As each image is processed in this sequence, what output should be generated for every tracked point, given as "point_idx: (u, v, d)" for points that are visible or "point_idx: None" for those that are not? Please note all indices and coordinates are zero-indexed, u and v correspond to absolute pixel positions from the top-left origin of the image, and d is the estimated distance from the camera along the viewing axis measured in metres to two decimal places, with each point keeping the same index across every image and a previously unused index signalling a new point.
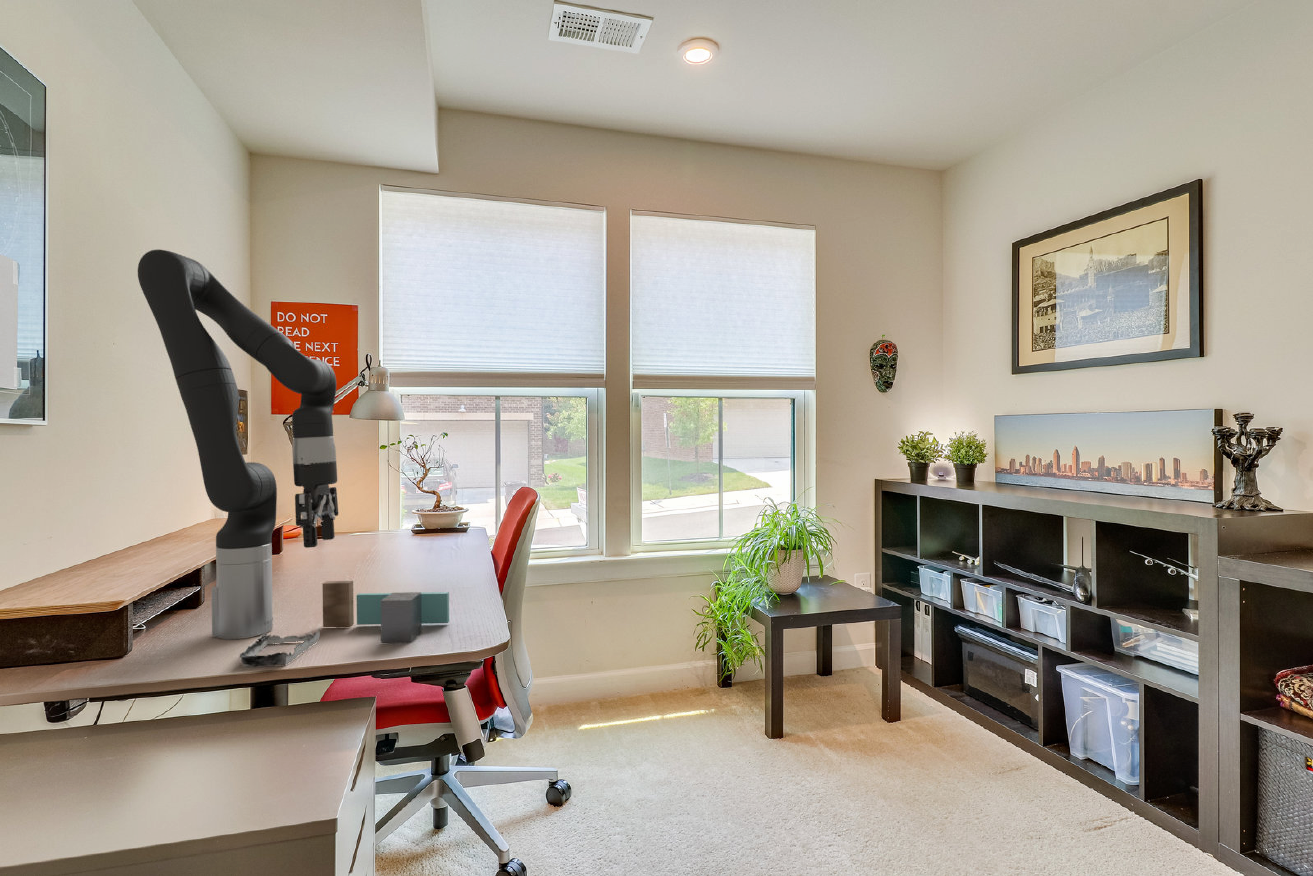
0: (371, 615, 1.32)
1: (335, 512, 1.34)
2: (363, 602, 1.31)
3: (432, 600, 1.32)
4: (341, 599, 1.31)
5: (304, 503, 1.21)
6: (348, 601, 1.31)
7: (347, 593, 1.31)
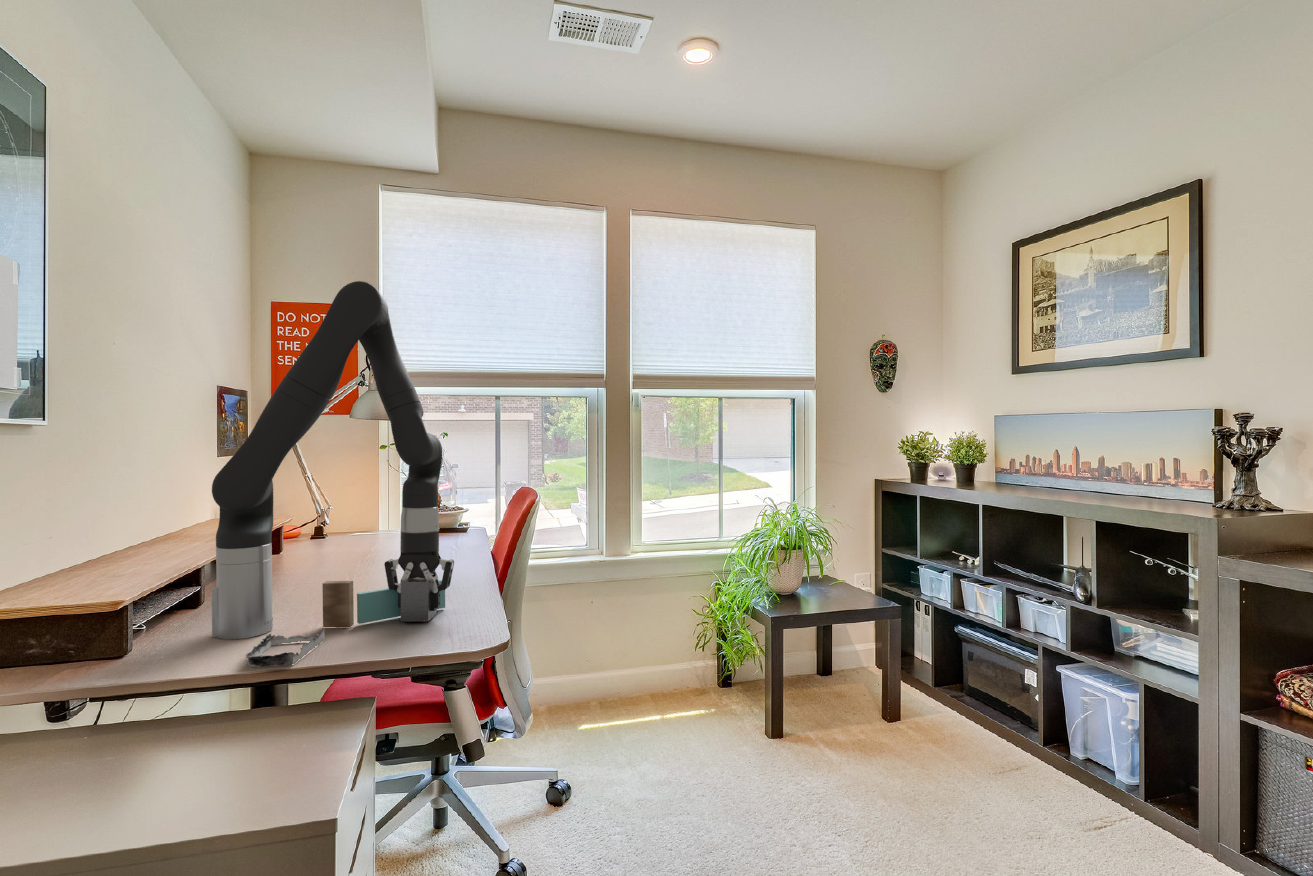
0: (374, 612, 1.34)
1: None
2: (366, 600, 1.33)
3: None
4: (341, 599, 1.31)
5: (451, 569, 1.37)
6: (348, 601, 1.31)
7: (347, 593, 1.31)
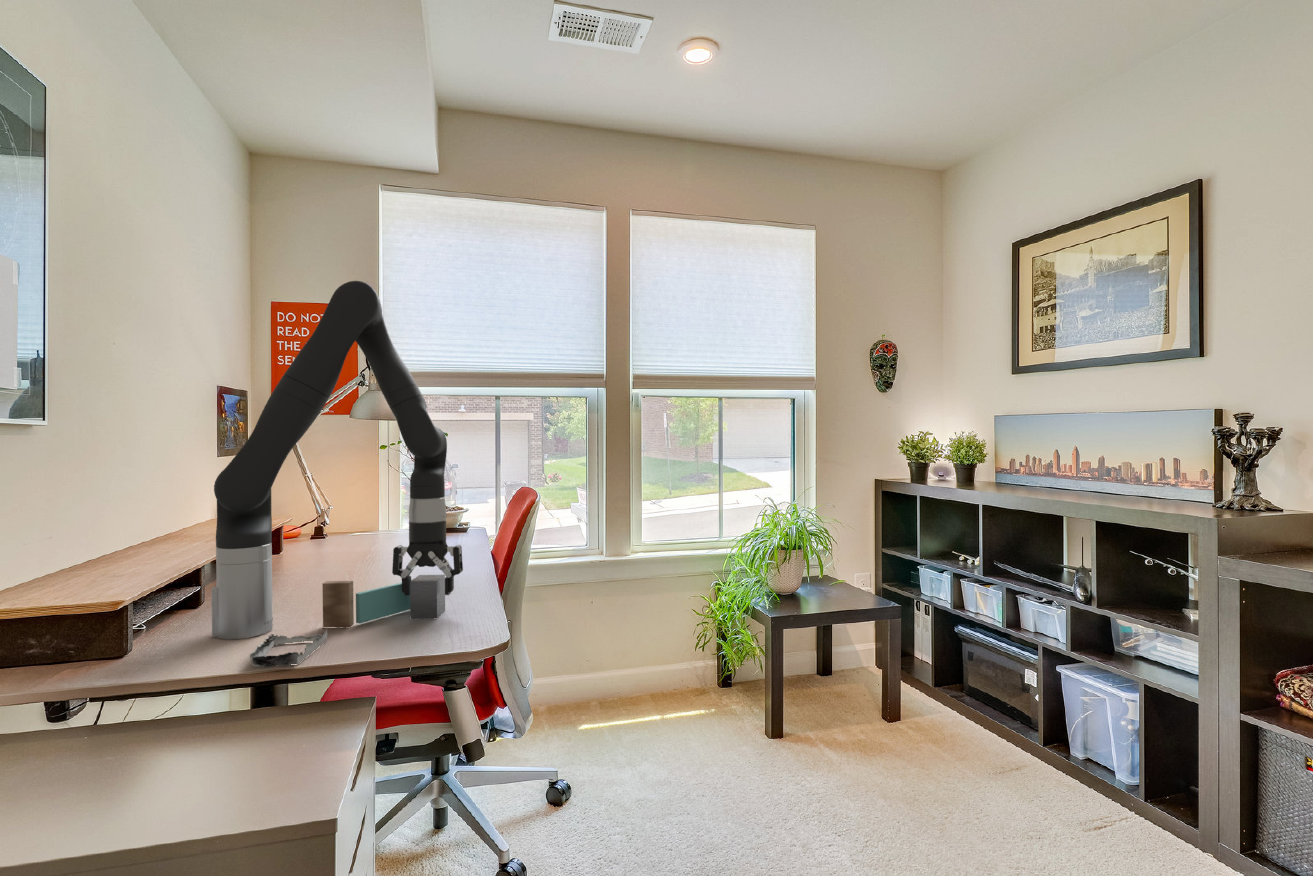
0: (372, 611, 1.35)
1: None
2: (365, 600, 1.33)
3: None
4: (341, 599, 1.31)
5: (460, 553, 1.41)
6: (348, 601, 1.31)
7: (347, 593, 1.31)
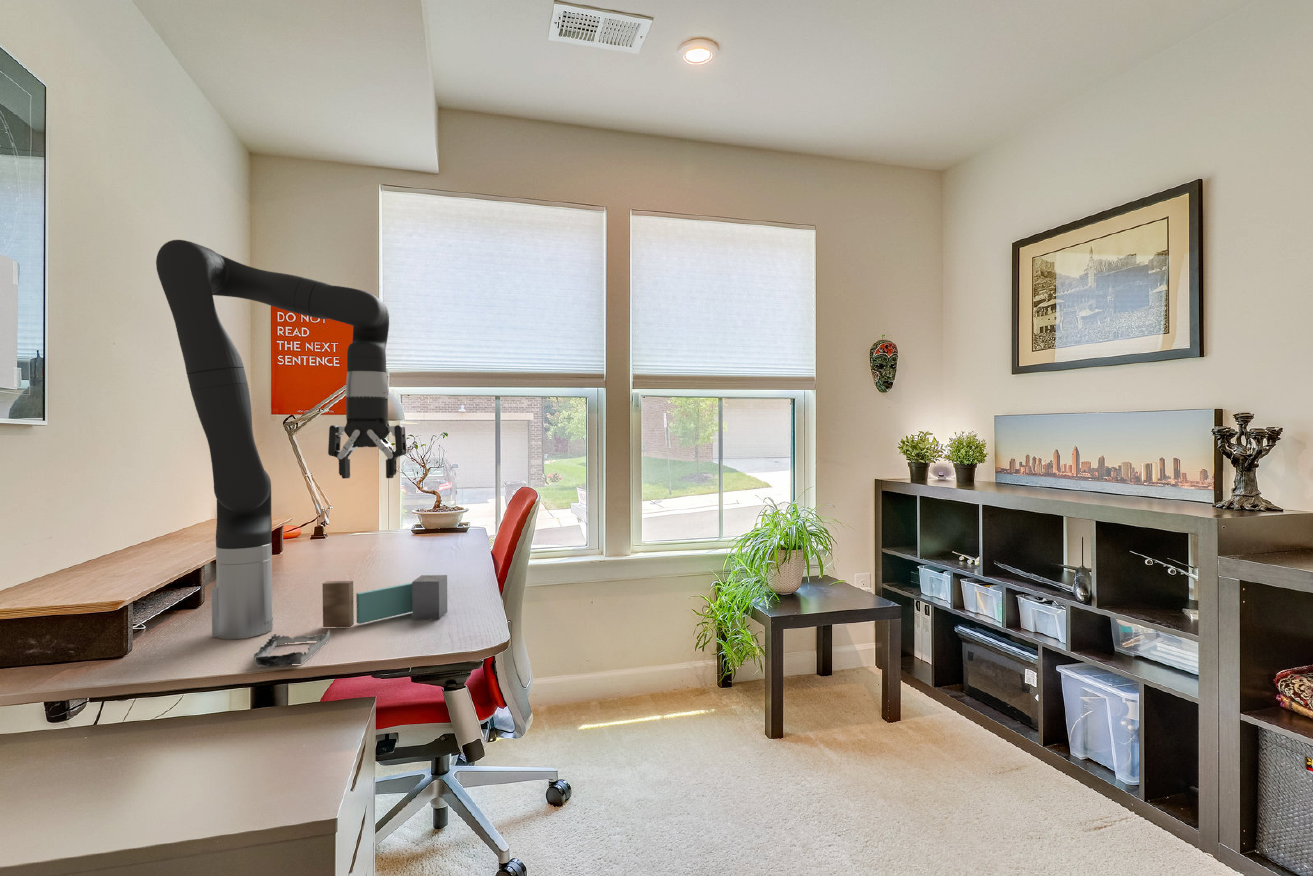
0: (373, 611, 1.34)
1: None
2: (365, 600, 1.33)
3: None
4: (341, 599, 1.31)
5: (403, 434, 1.29)
6: (348, 601, 1.31)
7: (347, 593, 1.31)
